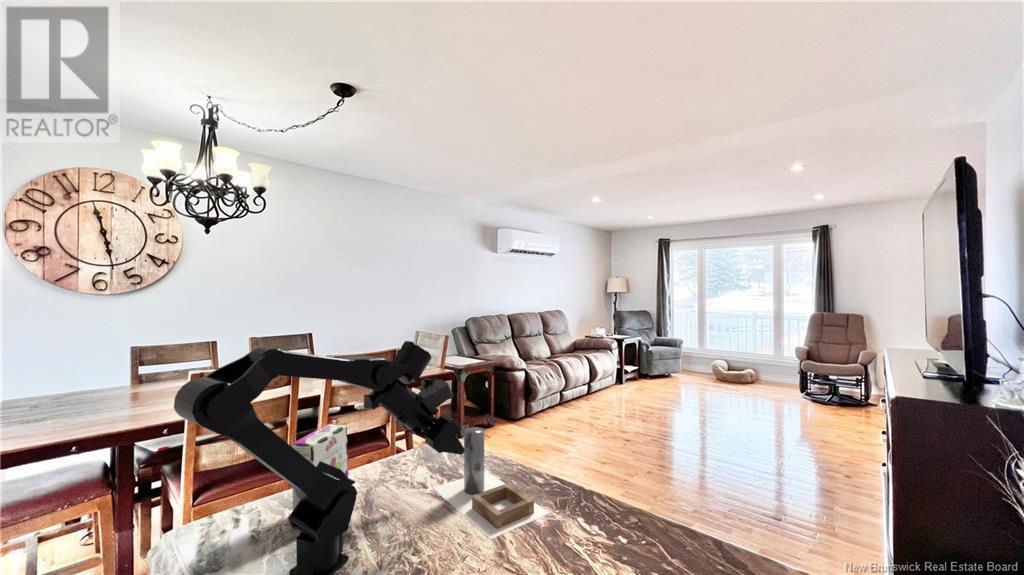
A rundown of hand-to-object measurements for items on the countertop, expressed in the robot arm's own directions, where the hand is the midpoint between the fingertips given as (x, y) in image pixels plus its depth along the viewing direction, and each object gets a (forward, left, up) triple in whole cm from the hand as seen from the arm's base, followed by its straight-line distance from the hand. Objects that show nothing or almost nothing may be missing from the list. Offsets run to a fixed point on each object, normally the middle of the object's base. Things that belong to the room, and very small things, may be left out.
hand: (452, 445), depth 87 cm
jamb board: (+2, -7, -12) cm, 14 cm away
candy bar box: (-14, +22, -12) cm, 29 cm away
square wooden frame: (-1, -12, -11) cm, 16 cm away
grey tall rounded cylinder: (+4, -3, -11) cm, 12 cm away
